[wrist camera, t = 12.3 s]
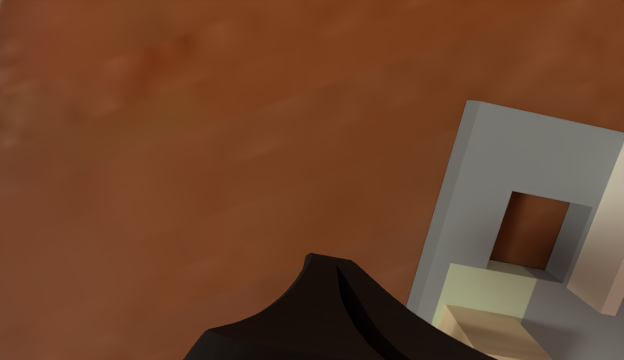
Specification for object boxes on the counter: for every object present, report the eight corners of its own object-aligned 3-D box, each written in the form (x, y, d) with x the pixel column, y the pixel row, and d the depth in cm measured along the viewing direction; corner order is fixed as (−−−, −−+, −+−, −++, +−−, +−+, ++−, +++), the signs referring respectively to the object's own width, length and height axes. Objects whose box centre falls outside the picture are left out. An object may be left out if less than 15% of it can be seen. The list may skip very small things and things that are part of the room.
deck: (644, 392, 25) (666, 412, 24) (393, 351, 24) (399, 369, 23) (754, 162, 22) (788, 168, 20) (467, 100, 21) (480, 101, 19)
